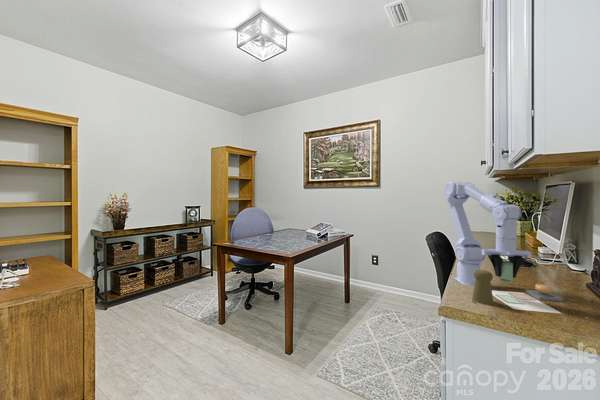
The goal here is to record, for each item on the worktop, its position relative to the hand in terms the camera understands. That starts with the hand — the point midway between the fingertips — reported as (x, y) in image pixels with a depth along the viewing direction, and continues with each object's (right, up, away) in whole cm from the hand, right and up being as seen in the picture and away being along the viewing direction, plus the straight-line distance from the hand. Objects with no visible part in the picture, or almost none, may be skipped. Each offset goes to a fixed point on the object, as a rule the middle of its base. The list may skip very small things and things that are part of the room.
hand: (505, 276), depth 90 cm
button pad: (+14, -8, +1) cm, 16 cm away
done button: (+14, -5, +1) cm, 15 cm away
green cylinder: (0, -2, 0) cm, 2 cm away
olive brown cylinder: (-11, -8, -4) cm, 14 cm away
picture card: (+2, -8, -3) cm, 9 cm away
